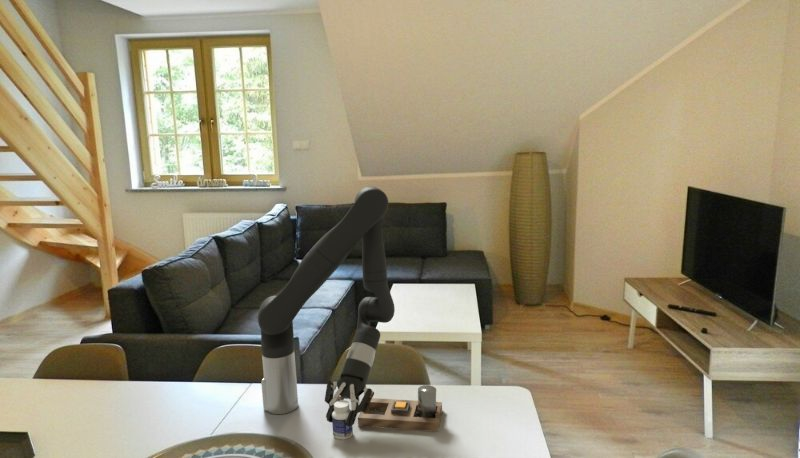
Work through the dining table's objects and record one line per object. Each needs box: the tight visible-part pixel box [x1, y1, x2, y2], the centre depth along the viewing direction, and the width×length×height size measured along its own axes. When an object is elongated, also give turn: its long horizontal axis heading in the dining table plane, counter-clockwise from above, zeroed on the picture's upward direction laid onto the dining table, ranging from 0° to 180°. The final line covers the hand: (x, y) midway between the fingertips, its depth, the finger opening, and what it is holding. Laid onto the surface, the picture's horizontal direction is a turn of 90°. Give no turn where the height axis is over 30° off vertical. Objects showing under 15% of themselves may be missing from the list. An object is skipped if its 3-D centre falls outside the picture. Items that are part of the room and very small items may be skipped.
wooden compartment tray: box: [357, 397, 443, 432], centre depth 150 cm, size 22×11×4 cm, turn 80°
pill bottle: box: [331, 399, 354, 440], centre depth 142 cm, size 5×5×9 cm
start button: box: [395, 402, 406, 409], centre depth 150 cm, size 3×3×1 cm
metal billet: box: [417, 384, 437, 418], centre depth 148 cm, size 5×5×9 cm
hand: (338, 423), depth 141 cm, fingers closed on pill bottle, 5 cm apart
